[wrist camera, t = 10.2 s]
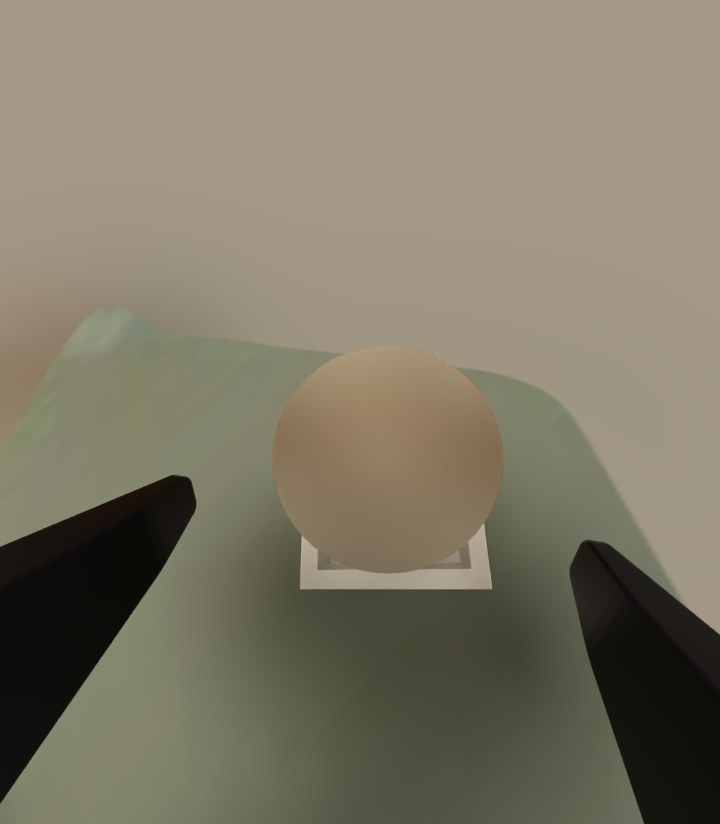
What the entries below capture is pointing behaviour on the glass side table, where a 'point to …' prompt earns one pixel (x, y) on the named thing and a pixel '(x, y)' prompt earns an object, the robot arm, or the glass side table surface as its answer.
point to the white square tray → (451, 573)
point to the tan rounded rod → (387, 459)
